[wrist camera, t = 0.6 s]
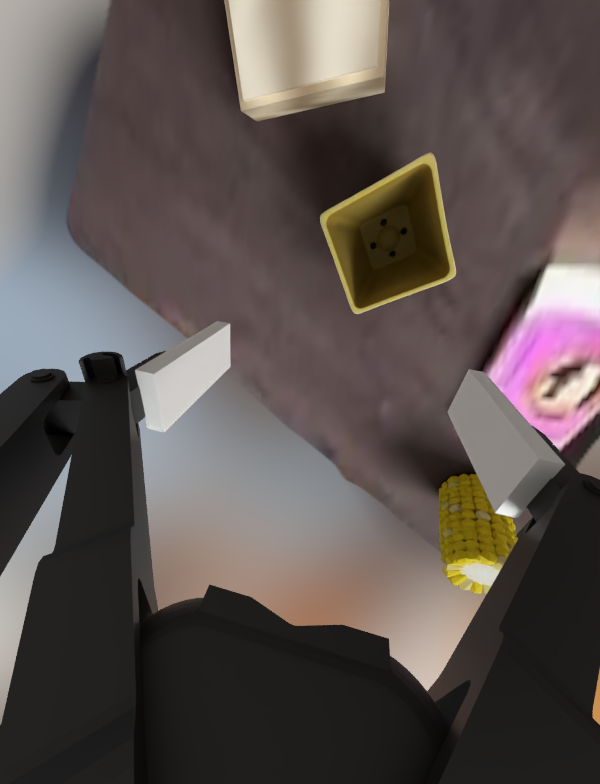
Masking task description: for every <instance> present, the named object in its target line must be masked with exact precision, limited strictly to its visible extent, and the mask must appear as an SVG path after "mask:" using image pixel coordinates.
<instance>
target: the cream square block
mask: <svg viewBox="0 0 600 784" xmlns="http://www.w3.org/2000/svg"><path fill="white" fill-rule="evenodd" d="M224 2H225V9H226V15H227V22H228V28H229V35H230V41H231V48H232V55H233V61H234V68H235V74H236V81H237V87H238V94H239V101H240V107H241V111H242V112H244V113H245V114H247V115H248V116H250V117H251V118H253V119H254V120H256V121H261V120H265V119H270V118H274V117H279V116H283V115H288V114H292V113H296V112H301V111H305V110H310V109H314V108H319V107H323V106H327V105H332V104H336V103H341V102H345V101H350V100H354V99H358V98H363V97H367V96H372V95H376V94H380V93H385V76H386V55H387V35H388V14H389V0H224Z"/></svg>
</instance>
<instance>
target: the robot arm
mask: <svg viewBox="0 0 600 784" xmlns="http://www.w3.org/2000/svg"><path fill="white" fill-rule="evenodd" d="M79 364H80V367H81V370H82V373H83V376H84V379H85V382H69V381H68V378H67V376H66V373H65V372H64V371H62V370H59V369H40V370H35V371H32V372H30V373H27V374H25V375H23V376H22V377H20V378H19V379H18V380H17V381H15V382H14V383H13V384H12V385H11V386H9V387H8V388H7V389H6V390H5V391H3V392H2V393H1V394H0V576H1V574H2V572H3V571H4V569H5V567H6V566H7V564H8V562H9V560H10V559H11V557H12V555H13V554H14V552H15V550H16V549H17V547H18V545H19V543H20V542H21V540H22V538H23V537H24V535H25V533H26V531H27V530H28V528H29V526H30V525H31V523H32V521H33V520H34V518H35V516H36V514H37V513H38V511H39V509H40V508H41V506H42V504H43V502H44V501H45V499H46V497H47V496H48V494H49V492H50V491H51V489H52V487H53V485H54V484H55V482H56V480H57V479H58V477H59V475H60V473H61V472H62V470H63V468H64V467H65V465H66V463H67V461H68V460H69V458H70V456H71V455H72V457H71V463H70V468H69V473H68V479H67V484H66V490H65V496H64V501H63V506H62V512H61V517H60V522H59V528H58V534H57V539H56V545H55V548H54V551H53V553H52V554H49V555H46V556H43V557H42V559H41V560H40V561H39V563H38V566H37V569H36V572H35V576H34V580H33V585H32V589H31V594H30V598H29V603H28V607H27V612H26V616H25V621H24V625H23V630H22V634H21V638H20V643H19V647H18V652H17V656H16V661H15V665H14V670H13V674H12V679H11V683H10V688H9V692H8V697H7V702H6V706H5V710H4V715H3V719H2V724H1V725H0V784H600V725H599V724H598V723H597V722H596V721H595V720H594V719H593V717H592V711H593V704H594V698H595V692H596V686H597V680H598V674H599V668H600V480H599V479H596V478H594V477H592V476H589V475H585V474H581V473H579V472H578V471H577V470H576V469H575V468H574V466H573V465H572V464H571V463H570V462H569V461H568V460H567V459H566V458H565V457H564V455H563V454H562V453H560V452H559V450H558V449H557V448H556V447H555V446H554V445H552V444H553V443H552V442H551V441H550V440H549V439H548V438H547V437H546V436H545V435H544V434H543V433H542V432H540V431H539V430H537V429H536V428H535V427H533V426H531V425H530V424H529V423H528V421H527V420H526V419H525V418H524V417H523V416H522V415H521V413H520V412H519V411H518V410H517V409H516V408H515V407H514V405H513V404H512V403H511V402H510V401H509V400H508V399H507V398H506V396H505V395H504V394H503V393H502V392H501V391H500V390H499V388H498V387H497V386H496V385H495V384H494V383H493V382H492V380H491V379H490V378H489V377H488V376H487V375H486V374H485V373H484V372H480V371H475V370H470V369H469V370H468V372H467V374H466V376H465V378H464V380H463V382H462V384H461V386H460V388H459V390H458V392H457V394H456V396H455V398H454V400H453V402H452V404H451V406H450V408H449V410H448V415H449V417H450V419H451V421H452V423H453V425H454V427H455V429H456V431H457V434H458V436H459V438H460V440H461V442H462V444H463V446H464V448H465V450H466V453H467V455H468V457H469V459H470V461H471V463H472V465H473V467H474V469H475V472H476V474H477V476H478V478H479V480H480V482H481V484H482V486H483V488H484V491H485V493H486V495H487V497H488V499H489V501H490V503H491V505H492V507H493V510H494V512H495V513H497V514H501V515H505V516H510V517H514V518H518V517H519V516H520V515H521V514H522V513H523V511H524V510H525V509H526V508H528V509H529V511H530V513H531V514H532V516H533V518H532V519H531V520H530V521H529V522H528V523H527V524H526V525H525V526H524V527H523V528H522V530H521V531H520V532H519V533H518V534H517V535H516V536H515V537H517V538H518V540H517V542H516V544H515V545H514V547H513V549H512V551H511V552H510V554H509V556H508V558H507V559H506V561H505V563H504V565H503V567H502V568H501V570H500V572H499V574H498V575H497V577H496V579H495V581H494V582H493V584H492V586H491V588H490V589H489V591H488V593H487V595H486V596H485V598H484V600H483V602H482V603H481V605H480V607H479V609H478V611H477V612H476V614H475V616H474V617H473V619H472V621H471V623H470V625H469V626H468V628H467V630H466V632H465V633H464V635H463V637H462V638H461V640H460V642H459V644H458V645H457V647H456V649H455V651H454V652H453V654H452V656H451V658H450V659H449V661H448V663H447V665H446V667H445V668H444V670H443V671H442V673H441V675H440V676H439V678H438V679H437V680H436V681H435V683H434V684H433V685H432V686H431V687H430V689H429V690H428V691H426V690H425V689H424V687H423V686H422V685H421V684H420V683H419V681H418V680H417V679H416V678H415V677H414V676H413V675H412V674H411V673H410V672H409V671H408V670H407V669H406V668H405V667H404V666H403V665H401V664H400V663H399V662H398V661H397V660H395V659H394V658H392V657H391V656H390V652H389V651H390V650H389V639H388V638H384V637H381V636H378V635H374V634H371V633H368V632H365V631H361V630H358V629H354V628H351V627H348V626H345V625H321V626H319V625H318V626H294V625H291V624H289V623H288V622H286V621H285V620H283V619H282V618H280V617H279V616H278V615H276V614H275V613H273V612H272V611H270V610H269V609H267V608H266V607H265V606H263V605H262V604H260V603H259V602H257V601H256V600H254V599H253V598H251V597H249V596H245V595H242V594H239V593H236V592H232V591H229V590H226V589H222V588H219V587H216V586H212V585H209V587H208V589H207V592H206V594H205V596H204V598H195V599H189V600H185V601H181V602H178V603H175V604H172V605H170V606H168V607H165V608H163V609H161V610H159V611H158V606H157V600H156V595H155V589H154V581H153V571H152V559H151V548H150V538H149V528H148V527H149V526H148V516H147V505H146V494H145V483H144V472H143V461H142V450H141V439H140V429H139V425H138V422H139V421H141V420H142V419H143V418H144V417H145V420H146V424H147V428H148V429H152V430H156V431H161V432H165V431H166V430H167V429H168V428H169V427H170V426H171V425H172V424H173V423H174V422H175V421H176V420H177V419H178V418H179V417H180V416H181V415H182V414H183V413H184V412H185V411H186V410H187V409H188V408H189V407H190V406H191V405H192V404H193V403H194V402H195V401H196V400H197V399H198V398H199V397H200V396H201V395H202V394H203V393H204V392H205V391H206V390H207V389H208V388H209V387H210V386H211V385H212V384H214V382H215V381H217V380H218V379H219V378H220V376H222V375H223V374H224V373H225V372H226V371H227V370H228V369H229V368H230V323H224V322H219V321H217V322H215V323H213V324H212V325H210V326H208V327H207V328H205V329H203V330H202V331H200V332H198V333H196V334H195V335H193V336H191V337H190V338H188V339H186V340H185V341H183V342H181V343H180V344H178V345H176V346H175V347H173V348H171V349H169V350H168V351H163V352H160V353H156V354H154V355H153V356H151V357H149V358H148V359H146V360H144V361H142V362H141V363H138V364H137V365H135V366H133V367H131V368H130V369H128V370H126V369H125V364H124V360H123V357H122V355H121V354H119V353H116V352H97V353H92V354H88V355H86V356H84V357H82V358H81V359H80V360H79Z"/></svg>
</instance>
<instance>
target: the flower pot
mask: <svg viewBox="0 0 600 784" xmlns="http://www.w3.org/2000/svg"><path fill="white" fill-rule="evenodd" d="M383 219H385V220H386V221H387V223H386V225H385V226H382V225H381V221H382V220H383ZM320 223H321V226H322V229H323V232H324V234H325V237H326V240H327V243H328V245H329V248H330V251H331V253H332V256H333V259H334V262H335V265H336V267H337V270H338V273H339V276H340V278H341V281H342V284H343V287H344V290H345V293H346V296H347V299H348V302H349V304H350V307H351V309H352V311H353V312H354V313H355V314H359V313H362V312H365V311H368V310H370V309H373V308H375V307H378V306H380V305H383V304H386V303H389V302H391V301H394V300H397V299H399V298H402V297H405V296H408V295H410V294H413V293H416V292H418V291H421V290H424V289H427V288H430V287H433V286H436V285H438V284H441V283H444V282H446V281H448V280H450V279H452V278H453V277H454V276H455V275H456V268H455V262H454V258H453V253H452V249H451V244H450V239H449V235H448V230H447V225H446V219H445V213H444V207H443V201H442V195H441V189H440V183H439V176H438V169H437V164H436V160H435V156H434V155H433V154H432V153H427V154H425V155H423V156H421V157H419V158H418V159H416V160H414V161H413V162H411V163H409V164H408V165H406V166H404V167H402V168H401V169H399V170H397V171H395V172H394V173H392V174H390V175H388V176H387V177H385V178H383V179H382V180H380V181H378V182H376V183H374V184H373V185H371V186H369V187H367V188H366V189H364V190H362V191H360V192H358V193H357V194H355V195H353V196H351V197H350V198H348V199H346V200H344V201H342V202H341V203H339V204H337V205H335V206H333V207H332V208H330V209H328V210H327V211H325V212H323V213H322V214H321V216H320ZM403 228H405V229H406V230H407V232H406V234H404V235H403V234H401V230H402V229H403ZM372 243H375V244H376V247H375V248H371V244H372ZM391 251H394V252H395V255H394V256H393V257H391V256H390V252H391Z"/></svg>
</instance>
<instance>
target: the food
mask: <svg viewBox="0 0 600 784" xmlns="http://www.w3.org/2000/svg"><path fill="white" fill-rule="evenodd" d="M447 481H448V482H443V484H442V488H439V495H438V496H439V508H440V510H439V511H438V513H439V517H440V521H439V526H440V530H439V531H440V533H439V534H440V542H441V543H440V548H441V551H442V552H441V558H442V559H441V560H442V563H443V573H444V574H445V575H446V576H447V577H448V579H449V580H450V581H451V583H452V584H454V585H456V586H457V585H458V586H459V588H460V589H462V590H471V591H472V592H473V593H479V594H481V593H482V591H484V593H486V594H487V593H488V591H489V589H490V588H491V586H492V584H493V582H494V581H495V579H496V577H497V575H498V574H499V572H500V570H501V568H502V567H503V565H504V563H505V561H506V559H507V558H508V556H509V554H510V552H511V551H512V549H513V547H514V545H515V544H516V542H517V537H515V536H516V535H517V534H516V532H515V528H516V526H515V525H514V524H513V523H512V522H513V519H512V518H511V517H510V516H505V515H501V514H497V513H495V512H494V510H493V507H492V505H491V503H490V501H489V499H488V497H487V495H486V493H485V491H484V488H483V486H482V484H481V482H480V480H479V478H478V476H477V474H470V476H468V475H467V474H462V475H460V476H458V477H457V476H451V477H450V478H449V479H448V480H447Z"/></svg>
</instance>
